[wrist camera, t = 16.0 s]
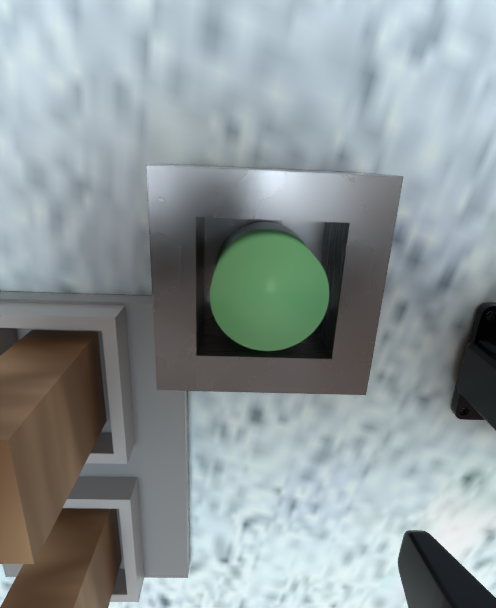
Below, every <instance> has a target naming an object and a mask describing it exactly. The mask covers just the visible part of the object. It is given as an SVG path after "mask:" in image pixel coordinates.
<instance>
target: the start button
mask: <svg viewBox="0 0 496 608" xmlns="http://www.w3.org/2000/svg"><path fill="white" fill-rule="evenodd" d="M328 302H329V284H328V280H327V276H326V273H325V271H324V269H323V267H322V265H321V264H320V262H319V261H318V260H317V258H316V257H315V256H314V255H313V253H312V252H311V251H310V250H309V248H308V247H307V246H306V245H305V243H304V242H303V241H302V240H301V238H300V237H299V236H298V235H297V234H296V233H294V232H293V231H292V230H290V229H289V228H287V227H285V226H283V225H280V224H277V223H273V222H256V223H251V224H248V225H245V226H243V227H241V228H239V229H238V230H236V231H235V232H234V233H232V234H231V235H230V236H229V237H228V238H227V239H226V241H225V242H224V243H223V245H222V247H221V249H220V250H219V253H218V256H217V260H216V265H215V269H214V274H213V278H212V283H211V288H210V304H211V309H212V312H213V315H214V318H215V320H216V322H217V324H218V325H219V326H220V328H221V329H222V330H223V332H224V333H225V334H226V335H227V336H229V337H230V338H231V339H232V340H234V341H235V342H237V343H238V344H240V345H242V346H245V347H247V348H250V349H255V350H260V351H276V350H282V349H285V348H289V347H291V346H294V345H296V344H298V343H300V342H301V341H303V340H304V339H306V338H307V337H308V336H309V335H310V334H312V333H313V332H314V330H315V329H316V328H317V327H318V326H319V324H320V323H321V321H322V319H323V317H324V315H325V313H326V310H327V307H328Z"/></svg>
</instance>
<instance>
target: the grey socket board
mask: <svg viewBox="0 0 496 608" xmlns="http://www.w3.org/2000/svg"><path fill="white" fill-rule="evenodd" d="M31 330H57V331H92V332H98V340H99V350H100V360H101V370H102V380H103V390H104V400H105V409H106V419H107V421H106V423H105V425H104V427H103V429H102V431H101V433H100V435H99V437H98V439H97V441H96V443H95V445H94V447H93V449H92V451H91V453H90V455H89V457H88V459H87V461H86V463H85V465H84V467H83V469H82V471H81V473H80V475H79V477H78V479H77V480H76V482H75V484H74V486H73V488H72V490H71V492H70V494H69V496H68V498H67V500H66V502H65V504H64V506H63V508H103V509H116V511H117V520H118V529H119V538H120V547H121V556H122V561H121V565H120V568H119V572H118V575H117V578H116V582H115V585H114V589H113V592H112V596H111V599H110V602H139V598H140V593H141V589H142V584H143V580H144V577H157V578H188V573H189V564H190V541H189V470H188V399H187V391H175V390H157V385H156V364H155V342H154V320H153V298H152V296H139V295H107V294H75V293H44V292H12V291H0V356H1V355H2V354H3V353H4V352H6V351H7V350H8V349H9V348H11V347H12V346H13V345H14V344H15V343H17V342H18V341H19V340H20V339H22V338H23V337H24V336H25V335H26V334H28V333H29V332H30V331H31ZM22 566H23V564H3V567H4V571H5V575H6V577H17V575H18V573H19V571H20V569H21V568H22Z"/></svg>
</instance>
